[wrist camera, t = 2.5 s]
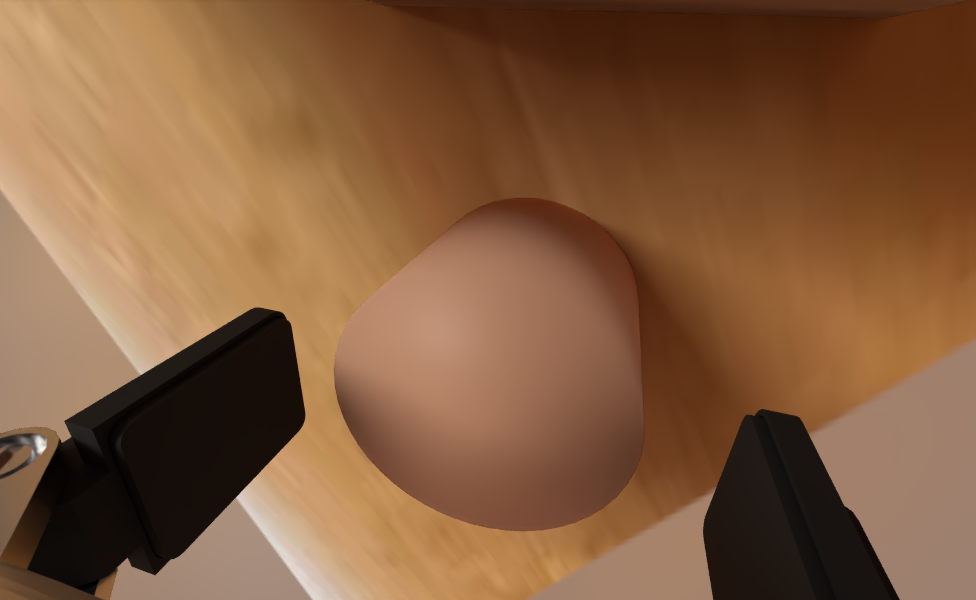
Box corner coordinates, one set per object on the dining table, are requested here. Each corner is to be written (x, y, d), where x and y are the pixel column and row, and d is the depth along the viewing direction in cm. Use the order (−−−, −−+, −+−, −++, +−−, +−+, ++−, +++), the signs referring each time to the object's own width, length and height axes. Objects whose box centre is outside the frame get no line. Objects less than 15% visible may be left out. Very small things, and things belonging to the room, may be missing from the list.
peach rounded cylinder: (426, 186, 12) (316, 246, 8) (660, 211, 11) (681, 300, 7) (429, 369, 15) (348, 490, 11) (617, 408, 14) (612, 562, 9)
